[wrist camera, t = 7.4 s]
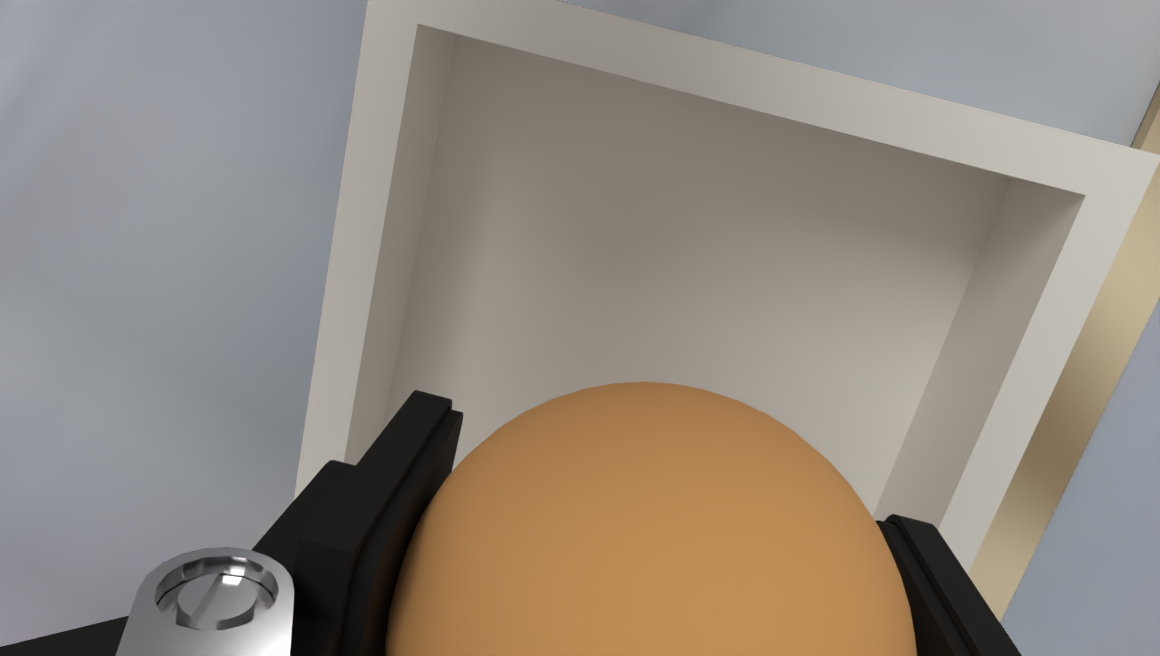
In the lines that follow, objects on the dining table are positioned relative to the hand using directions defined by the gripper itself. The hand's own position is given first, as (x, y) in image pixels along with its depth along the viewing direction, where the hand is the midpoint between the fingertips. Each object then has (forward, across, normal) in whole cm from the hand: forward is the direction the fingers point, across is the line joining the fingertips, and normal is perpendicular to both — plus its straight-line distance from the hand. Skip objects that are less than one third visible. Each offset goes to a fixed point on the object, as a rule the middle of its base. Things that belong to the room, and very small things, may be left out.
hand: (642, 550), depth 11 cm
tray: (+6, 0, 0) cm, 6 cm away
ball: (+1, 0, 0) cm, 1 cm away
